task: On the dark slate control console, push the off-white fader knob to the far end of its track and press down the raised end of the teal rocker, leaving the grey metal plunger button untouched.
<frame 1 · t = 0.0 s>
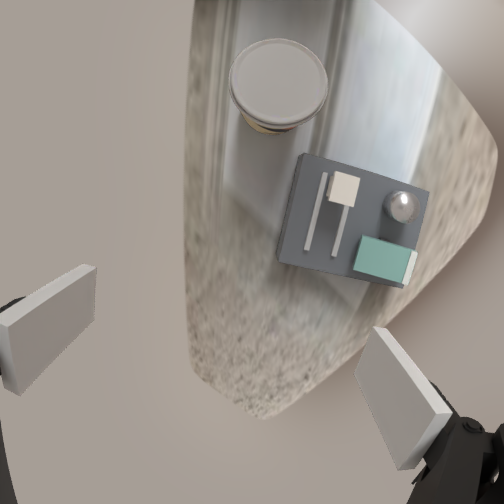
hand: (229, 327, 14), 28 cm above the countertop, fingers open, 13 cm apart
coffee cup: (271, 106, 38), on the countertop
slider: (340, 188, 34), point 6 cm above the countertop, slide at 0.0 cm
plunger: (401, 206, 35), point 6 cm above the countertop, slide at 0.0 cm
console: (350, 220, 41), on the countertop
rocker: (385, 259, 36), point 6 cm above the countertop, hinge at 15.0°
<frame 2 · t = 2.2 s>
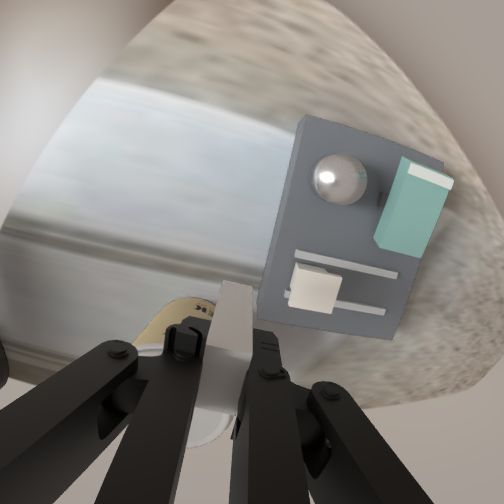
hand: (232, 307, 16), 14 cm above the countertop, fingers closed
coffee cup: (192, 331, 32), on the countertop
slider: (311, 284, 24), point 6 cm above the countertop, slide at 0.0 cm
plunger: (337, 179, 23), point 6 cm above the countertop, slide at 0.0 cm
console: (345, 230, 29), on the countertop
rocker: (413, 209, 22), point 6 cm above the countertop, hinge at 15.0°
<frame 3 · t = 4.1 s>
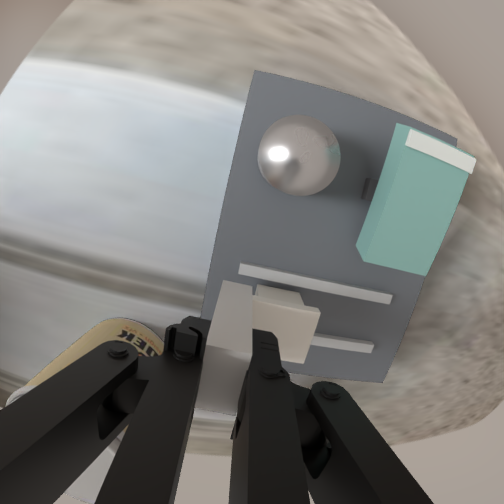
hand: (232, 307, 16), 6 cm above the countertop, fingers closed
coffee cup: (129, 358, 24), on the countertop
slider: (276, 317, 16), point 6 cm above the countertop, slide at 1.0 cm, touching gripper
plunger: (295, 156, 15), point 6 cm above the countertop, slide at 0.0 cm
console: (320, 233, 22), on the countertop
rocker: (416, 203, 15), point 6 cm above the countertop, hinge at 15.0°
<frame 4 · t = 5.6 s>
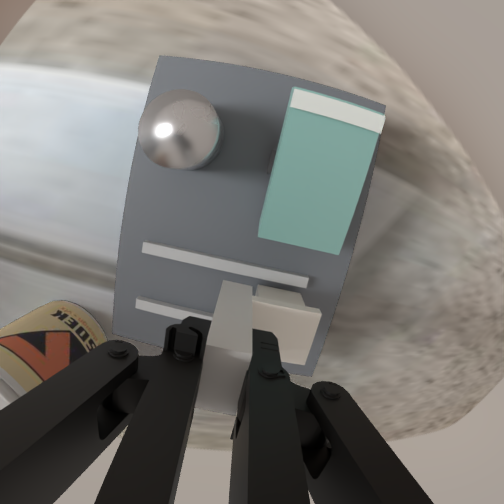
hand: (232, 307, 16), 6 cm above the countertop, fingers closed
coffee cup: (72, 340, 24), on the countertop
slider: (277, 318, 16), point 6 cm above the countertop, slide at 6.4 cm, touching gripper
plunger: (183, 132, 14), point 6 cm above the countertop, slide at 0.0 cm
console: (241, 214, 21), on the countertop
rocker: (318, 171, 14), point 6 cm above the countertop, hinge at 15.0°
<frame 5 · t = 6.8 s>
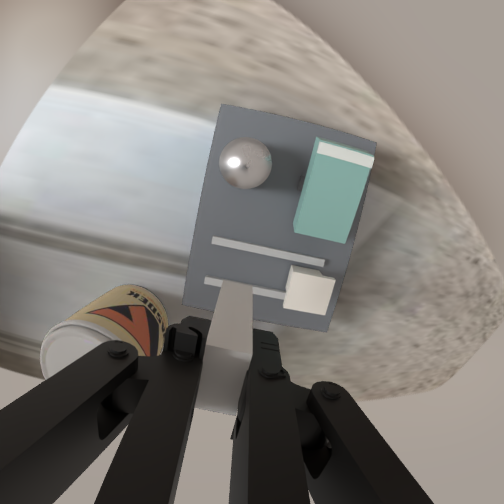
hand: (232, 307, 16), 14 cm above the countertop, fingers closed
coffee cup: (134, 317, 32), on the countertop
slider: (305, 286, 25), point 6 cm above the countertop, slide at 6.4 cm
plunger: (245, 163, 23), point 6 cm above the countertop, slide at 0.0 cm
console: (275, 217, 30), on the countertop
rocker: (332, 191, 23), point 6 cm above the countertop, hinge at 15.0°
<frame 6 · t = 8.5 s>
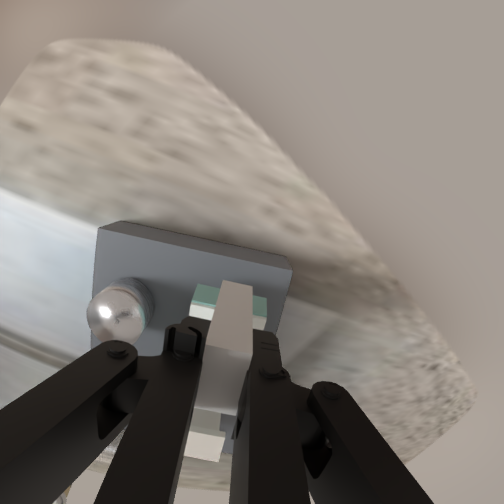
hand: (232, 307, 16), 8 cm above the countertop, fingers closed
slider: (201, 429, 21), point 6 cm above the countertop, slide at 6.4 cm
plunger: (121, 311, 19), point 6 cm above the countertop, slide at 0.0 cm
console: (182, 338, 26), on the countertop
rocker: (220, 348, 19), point 6 cm above the countertop, hinge at 11.2°, touching gripper
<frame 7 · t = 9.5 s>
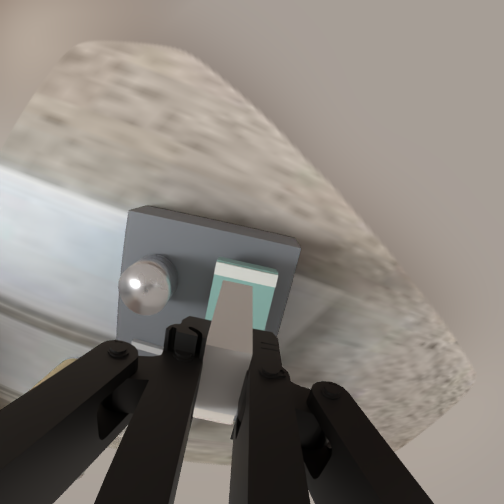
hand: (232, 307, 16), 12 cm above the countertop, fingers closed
slider: (217, 394, 24), point 6 cm above the countertop, slide at 6.4 cm
plunger: (149, 283, 22), point 6 cm above the countertop, slide at 0.0 cm
console: (201, 312, 29), on the countertop
rocker: (236, 314, 22), point 6 cm above the countertop, hinge at -7.5°
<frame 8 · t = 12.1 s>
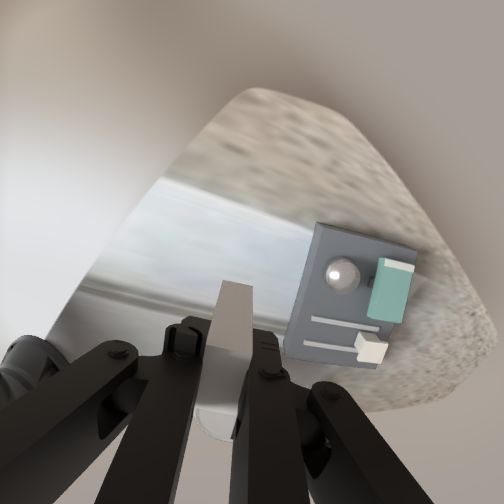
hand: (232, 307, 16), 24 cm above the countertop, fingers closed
coffee cup: (237, 362, 44), on the countertop
slider: (368, 345, 37), point 6 cm above the countertop, slide at 6.4 cm
plunger: (341, 274, 35), point 6 cm above the countertop, slide at 0.0 cm
console: (345, 295, 42), on the countertop
rocker: (391, 290, 35), point 6 cm above the countertop, hinge at -13.5°
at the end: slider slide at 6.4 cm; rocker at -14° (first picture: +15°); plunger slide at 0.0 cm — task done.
